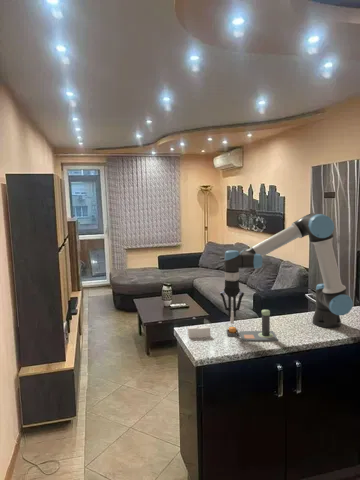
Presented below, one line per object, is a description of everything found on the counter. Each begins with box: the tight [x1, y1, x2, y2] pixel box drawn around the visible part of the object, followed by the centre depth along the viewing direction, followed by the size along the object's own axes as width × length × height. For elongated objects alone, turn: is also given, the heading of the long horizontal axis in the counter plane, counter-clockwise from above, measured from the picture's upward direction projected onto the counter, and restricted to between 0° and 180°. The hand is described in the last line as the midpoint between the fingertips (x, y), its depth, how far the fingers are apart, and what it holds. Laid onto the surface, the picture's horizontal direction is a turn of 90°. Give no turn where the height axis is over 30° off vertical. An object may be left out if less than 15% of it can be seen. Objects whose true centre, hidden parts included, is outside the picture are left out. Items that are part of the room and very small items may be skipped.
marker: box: [261, 309, 271, 336], centre depth 185 cm, size 4×4×13 cm
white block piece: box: [187, 325, 211, 339], centre depth 188 cm, size 15×11×6 cm
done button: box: [228, 326, 237, 333], centre depth 190 cm, size 4×4×2 cm
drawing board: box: [239, 330, 279, 342], centre depth 185 cm, size 18×12×1 cm, turn 87°
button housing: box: [226, 328, 240, 337], centre depth 190 cm, size 6×6×2 cm
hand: (232, 322), depth 189 cm, fingers closed
